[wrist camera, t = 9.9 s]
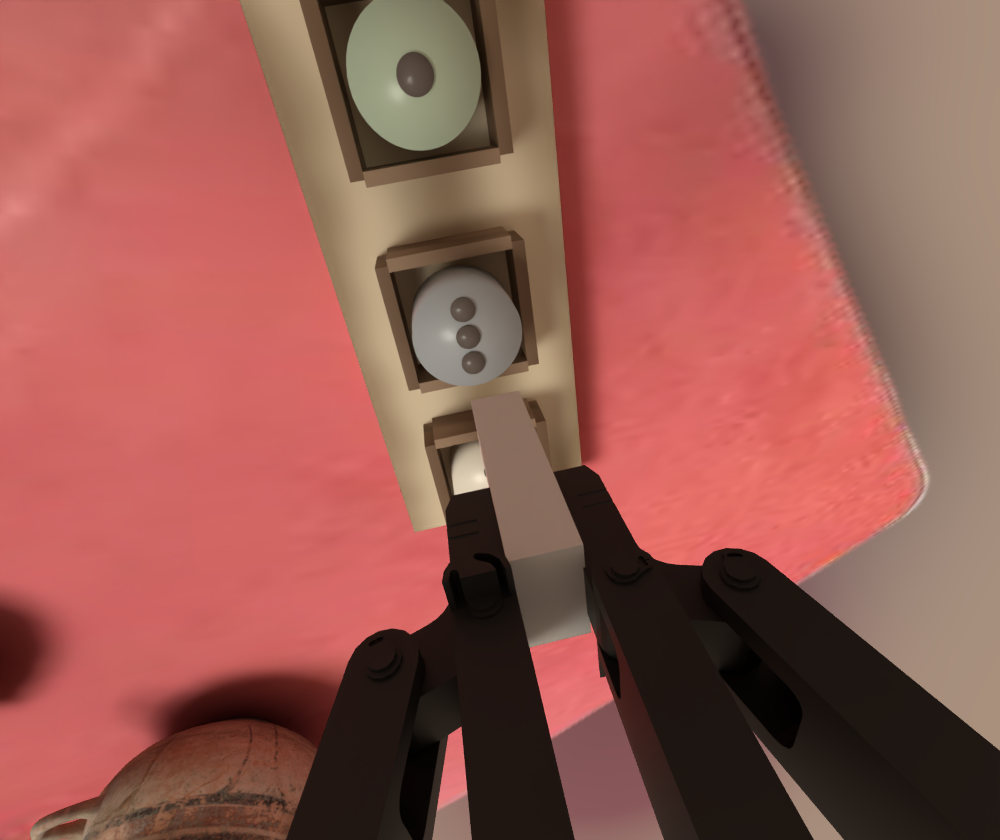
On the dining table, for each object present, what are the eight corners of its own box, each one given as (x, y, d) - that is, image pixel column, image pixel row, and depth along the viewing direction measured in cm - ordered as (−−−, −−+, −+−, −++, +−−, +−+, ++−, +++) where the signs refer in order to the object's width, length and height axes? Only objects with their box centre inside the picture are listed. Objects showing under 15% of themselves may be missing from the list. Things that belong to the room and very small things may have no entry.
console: (414, 504, 37) (415, 559, 32) (244, -31, 21) (198, -75, 16) (571, 468, 38) (595, 517, 33) (520, -74, 22) (552, -128, 17)
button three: (424, 369, 26) (426, 397, 24) (400, 275, 24) (399, 294, 21) (516, 350, 27) (528, 375, 24) (502, 255, 24) (514, 271, 21)
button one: (372, 156, 23) (368, 161, 20) (336, 16, 20) (326, 0, 17) (481, 137, 23) (491, 138, 20) (460, -3, 20) (468, -23, 18)
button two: (458, 494, 33) (462, 527, 30) (442, 432, 30) (445, 461, 28) (531, 478, 33) (542, 509, 31) (522, 414, 31) (533, 442, 28)
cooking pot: (410, 710, 50) (411, 864, 39) (319, 803, 56) (299, 959, 45) (135, 642, 39) (38, 828, 29) (60, 766, 45) (-43, 957, 35)
